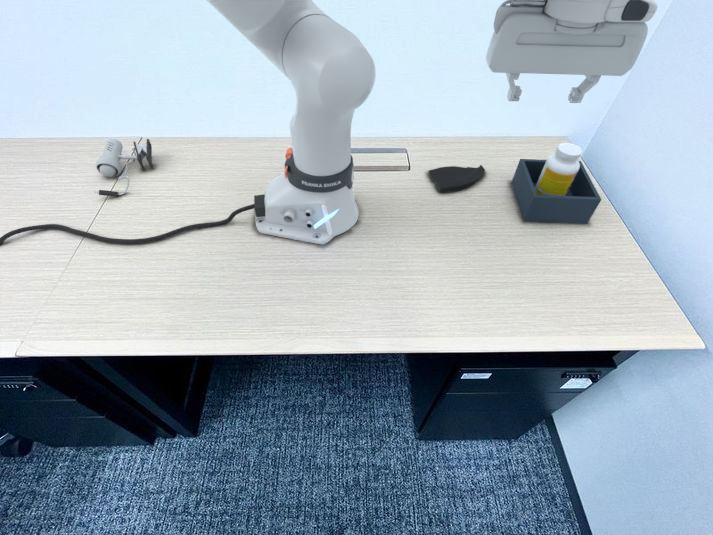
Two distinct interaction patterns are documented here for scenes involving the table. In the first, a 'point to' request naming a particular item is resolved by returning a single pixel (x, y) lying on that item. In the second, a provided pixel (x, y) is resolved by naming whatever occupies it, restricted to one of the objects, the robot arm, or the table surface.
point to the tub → (554, 208)
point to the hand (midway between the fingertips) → (542, 100)
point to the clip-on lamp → (112, 166)
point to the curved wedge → (455, 177)
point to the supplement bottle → (559, 170)
